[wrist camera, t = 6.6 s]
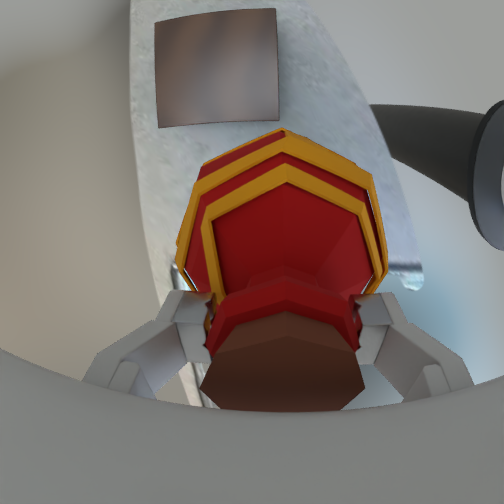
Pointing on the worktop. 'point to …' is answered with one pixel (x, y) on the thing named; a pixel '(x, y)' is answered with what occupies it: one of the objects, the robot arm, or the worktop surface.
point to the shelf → (217, 68)
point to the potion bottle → (282, 271)
